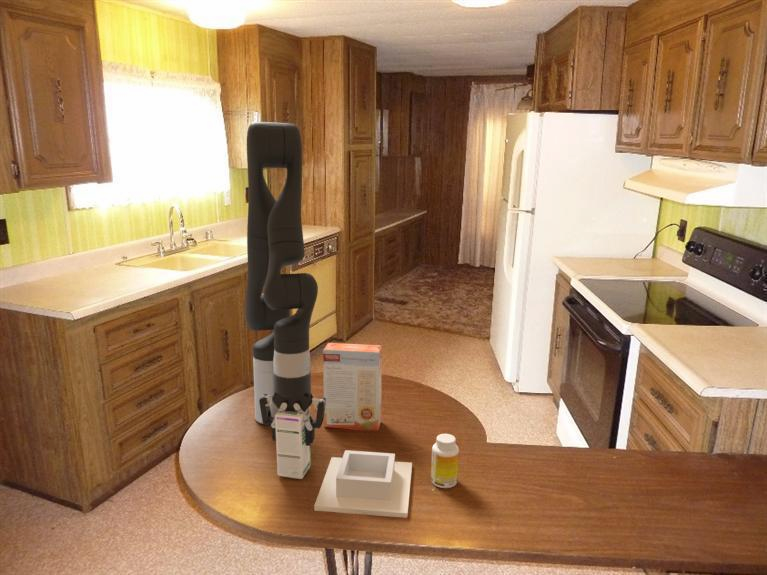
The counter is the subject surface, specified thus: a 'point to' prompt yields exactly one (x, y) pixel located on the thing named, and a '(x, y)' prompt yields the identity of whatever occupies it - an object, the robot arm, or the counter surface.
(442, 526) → the counter surface
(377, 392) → the cracker box
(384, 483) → the sleeve holder
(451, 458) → the supplement bottle
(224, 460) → the counter surface
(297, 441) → the syrup box
